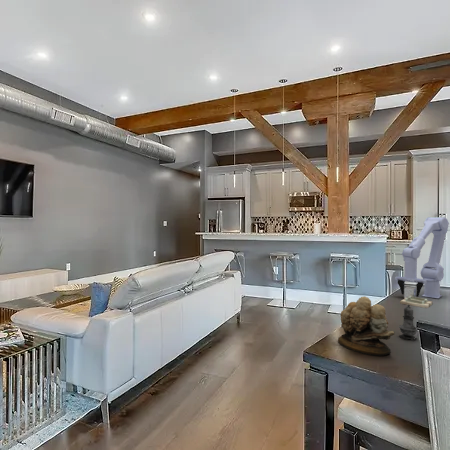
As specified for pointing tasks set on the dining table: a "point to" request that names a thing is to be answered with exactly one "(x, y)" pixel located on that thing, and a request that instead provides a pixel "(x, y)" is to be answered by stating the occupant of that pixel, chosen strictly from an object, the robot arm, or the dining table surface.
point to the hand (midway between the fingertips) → (410, 295)
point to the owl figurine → (365, 328)
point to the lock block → (409, 292)
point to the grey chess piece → (408, 324)
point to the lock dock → (416, 302)
